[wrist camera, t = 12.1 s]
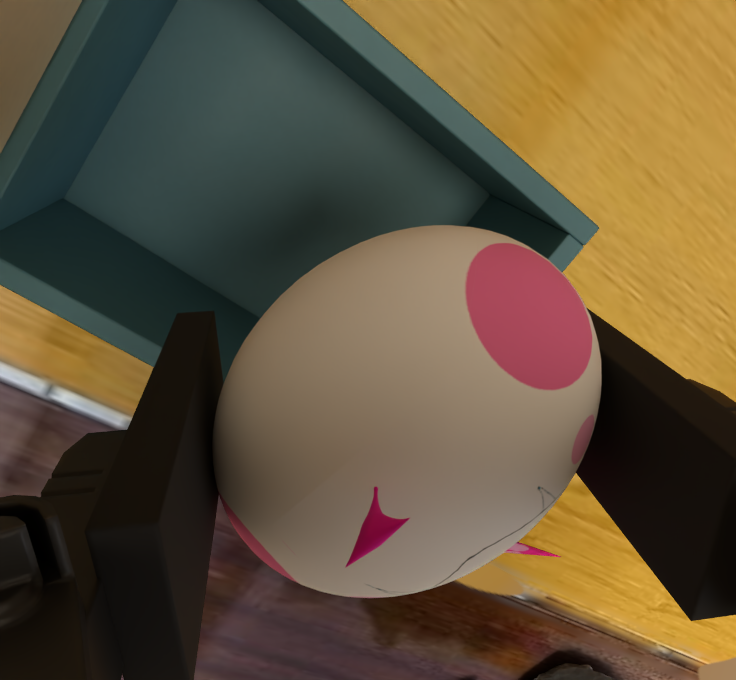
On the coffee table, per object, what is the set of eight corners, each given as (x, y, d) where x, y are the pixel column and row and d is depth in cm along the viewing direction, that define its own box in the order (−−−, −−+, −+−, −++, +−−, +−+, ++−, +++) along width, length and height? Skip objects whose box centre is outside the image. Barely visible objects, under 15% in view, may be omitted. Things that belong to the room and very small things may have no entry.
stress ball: (892, 627, 7) (661, 387, 14) (479, 163, 5) (426, 127, 12) (447, 862, 10) (421, 562, 16) (30, 595, 8) (187, 370, 14)
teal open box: (507, 187, 28) (600, 227, 20) (351, 385, 31) (378, 489, 23) (198, -75, 22) (155, -166, 14) (43, 199, 25) (-64, 251, 17)
